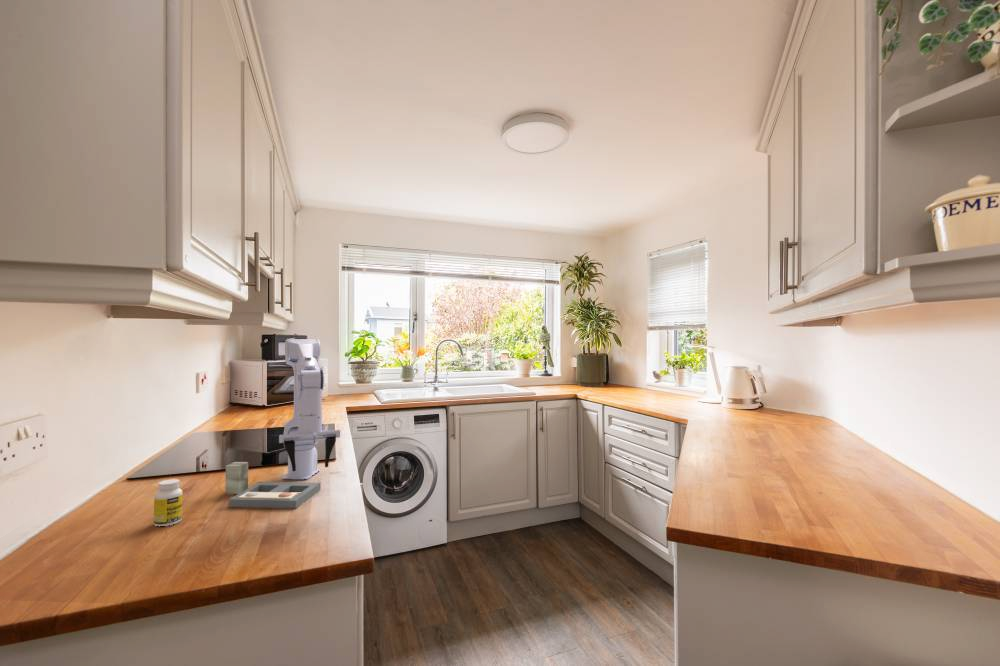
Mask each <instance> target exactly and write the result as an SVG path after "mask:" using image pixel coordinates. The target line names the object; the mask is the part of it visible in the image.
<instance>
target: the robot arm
mask: <svg viewBox="0 0 1000 666" xmlns="http://www.w3.org/2000/svg"><path fill="white" fill-rule="evenodd" d="M284 344H285V345H284V355H285V357H284V358H285V361H284V362H285V364H286V365H288V366H290V367H292V370H293V416H292V418H290V419H289V420H287V422H285V424H284V426H283V427H284V429H283V434H279V436H278V443H279V444H282V443H283V447H284V449H285V450H286V453H287V459H288V460H287V474H286V475H284V476H282V478H281V479H282V480H304V479H306V480H308V479H310V478H311V477H313V476H314V475H315V473H316V474H317V473H319V472H320V471H321V469H319V468H318V450H317V448H316V447H315V446H316V445H317V444H319V443H318V441H319V440H324V439H325V441H324V444H325V449H324V450H325V456H324V458H325V459H324V467H325V468H329V462H330V457H331V454H332V452H333V448H334V447H335V446H334V445H335V444H336V441H337V438H338V439H339V438H341V430H340V429H333V430H323V396H322V395H323V392H322V391H323V390H324V386H325V374H324V370H323V368H320V367H319V362H318V361H319V360H320V359H319V358H320V355H321V341H320V339H319V338H312V339H310V338H308V339H307V338H300V339H299V338H298V339H297V338H286V339H285V343H284ZM318 471H319V472H318ZM312 475H313V476H312Z"/></svg>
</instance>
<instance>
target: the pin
mask: <svg viewBox="0 0 1000 666" xmlns="http://www.w3.org/2000/svg"><path fill="white" fill-rule="evenodd" d="M224 487H225V489H224V490H225V492H224V493H225V495H233V494H239V493H241V492H243V491H244V490H246V489H248V488H249V462H248V461H233V462H231V463H229V464H227V465H225V486H224Z"/></svg>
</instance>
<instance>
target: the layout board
mask: <svg viewBox="0 0 1000 666" xmlns="http://www.w3.org/2000/svg"><path fill="white" fill-rule="evenodd" d="M321 487H322V485H321V482H306V481H305V482H303V481H302V482H300V481H299V482H298V481H297V482H295V481H291V482H289V481H258V482H257V483H256V484H253V485H252V486H249V487H248V489H246V490H244V491H243V492H241V493H239V494H237V495H234V496H232V497H230V498H229V499H228V508H253V509H254V508H255V509H256V508H257V509H259V508H262V509H263V508H264V509H266V508H267V509H268V508H269V509H297V508H299V507H300V506H301V505H302V503H303V504H304V503H305V502H306V501H309V499H310V498H312V497H313V496H314V495H316V494H317V493H318V492H319V491H321ZM291 492H301V493H291ZM315 493H316V494H315ZM298 506H299V507H298Z"/></svg>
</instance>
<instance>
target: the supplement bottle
mask: <svg viewBox="0 0 1000 666" xmlns="http://www.w3.org/2000/svg"><path fill="white" fill-rule="evenodd" d="M158 490H159V491H157V492H155V494H154V498H153V499H154V503H153V525H154V526H155V527H157V526H159V527H158V528H161V527H160V526H165V527H170V526H173V524H174V525H176V524H179V523H180V522H181V521H182V519H183V495H184V492H183V489H181V488H180V479H177V478H173V479H172V478H171V479H165V480H162V481H160V482H158ZM169 525H170V526H169Z"/></svg>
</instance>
